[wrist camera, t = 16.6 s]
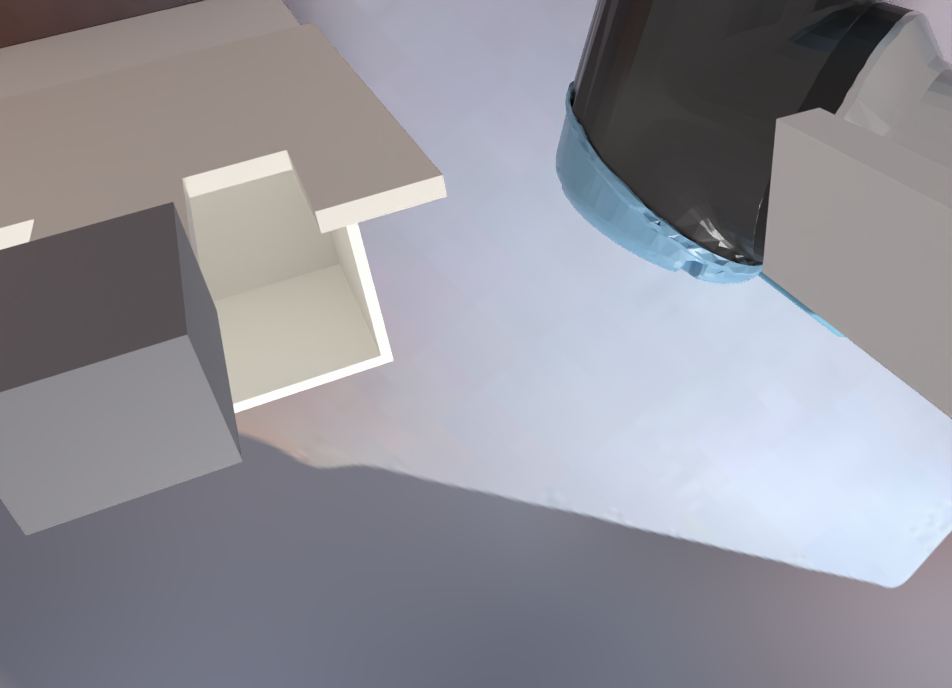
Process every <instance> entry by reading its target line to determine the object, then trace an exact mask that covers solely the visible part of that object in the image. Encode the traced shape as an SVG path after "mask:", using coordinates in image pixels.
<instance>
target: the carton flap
mask: <svg viewBox="0 0 952 688" xmlns="http://www.w3.org/2000/svg"><path fill="white" fill-rule="evenodd" d="M291 169H293V171H294V174H295V176H296V178H297V180H298V183H299V185H300V187H301V189H302V192H303V194H304V196H305V198H306V201H307V203H308V205H309V207H310V209H311V212H312V214H313V216H314V218H315V221H316V223H317V225H318V227H319V230H320V232H321V234H322V233H325V232H328V231H332V230H335V229H339V228H342V227H345V226H349V225H352V224H355V223H359V222H362V221H366V220H369V219H372V218H376V217H379V216H383V215H386V214H389V213H393V212H396V211H400V210H403V209H406V208H410V207H413V206H416V205H420V204H423V203H427V202H430V201H433V200H437V199H440V198H444V197H447V194H446V189H445V184H444V178H443V174H442V173H441V172H440V171H439V170H438V169H437V167H436V166H435V165H434V164H433V163H432V161H431V160H430V159H429V158H428V157H427V156H426V154H425V153H424V152H423V151H422V150H421V149H420V147H419V146H418V145H417V144H416V143H415V141H414V140H413V139H412V138H411V137H410V136H409V134H408V133H407V132H406V131H405V130H404V129H403V127H402V126H401V125H400V124H399V123H398V121H397V120H396V119H395V118H394V117H393V116H392V114H391V113H390V112H389V111H388V110H387V109H386V107H385V106H384V105H383V104H382V103H381V101H380V100H379V99H378V98H377V97H376V96H375V94H374V93H373V92H372V91H371V90H370V88H369V87H368V86H367V85H366V84H365V83H364V81H363V80H362V79H361V78H360V77H359V76H358V74H357V73H356V72H355V71H354V70H353V68H352V67H351V66H350V65H349V64H348V63H347V61H346V60H345V59H344V58H343V57H342V56H341V54H340V53H339V52H338V51H337V50H336V48H335V47H334V46H333V45H332V44H331V43H330V41H329V40H328V39H327V38H326V37H325V36H324V34H323V33H322V32H321V31H320V30H319V28H318V27H317V26H316V25H315V24H314V23H313V22H312V23H308V24H304V25H300V26H296V27H292V28H288V29H284V30H280V31H276V32H272V33H268V34H263V35H259V36H255V37H251V38H247V39H243V40H239V41H235V42H231V43H227V44H223V45H219V46H215V47H211V48H206V49H202V50H198V51H194V52H190V53H186V54H182V55H178V56H174V57H170V58H166V59H162V60H158V61H154V62H149V63H145V64H141V65H137V66H133V67H129V68H125V69H121V70H117V71H113V72H109V73H105V74H101V75H97V76H92V77H88V78H84V79H80V80H76V81H72V82H68V83H64V84H60V85H56V86H52V87H48V88H44V89H40V90H35V91H31V92H27V93H23V94H19V95H15V96H11V97H7V98H3V99H0V498H1V500H2V501H3V503H4V504H5V506H6V507H7V509H8V510H9V512H10V513H11V514H12V516H13V517H14V519H15V520H16V522H17V523H18V525H19V526H20V527H21V529H22V530H23V532H24V533H25V534H26V535H29V534H32V533H35V532H38V531H41V530H43V529H47V528H50V527H52V526H55V525H58V524H61V523H64V522H67V521H70V520H73V519H76V518H79V517H82V516H84V515H88V514H91V513H93V512H96V511H99V510H102V509H105V508H108V507H111V506H114V505H117V504H120V503H123V502H125V501H129V500H131V499H134V498H137V497H140V496H143V495H146V494H149V493H152V492H155V491H158V490H160V489H163V488H166V487H169V486H172V485H175V484H178V483H181V482H184V481H187V480H190V479H193V478H196V477H199V476H202V475H205V474H207V473H210V472H213V471H216V470H219V469H222V468H225V467H228V466H231V465H234V464H237V463H240V462H242V455H241V449H240V443H239V437H238V431H237V425H236V420H235V414H234V408H233V402H232V396H231V390H230V384H229V379H228V373H227V367H226V361H225V355H224V349H223V343H222V338H221V332H220V326H219V320H218V314H217V310H216V307H215V305H214V302H213V300H212V297H211V295H210V292H209V290H208V287H207V285H206V282H205V280H204V277H203V275H202V272H201V270H200V264H199V257H198V251H197V244H196V237H195V231H194V224H193V217H192V211H191V204H190V198H191V197H194V196H198V195H202V194H205V193H209V192H212V191H216V190H220V189H223V188H227V187H230V186H234V185H238V184H241V183H245V182H248V181H252V180H256V179H259V178H263V177H266V176H270V175H274V174H277V173H281V172H284V171H288V170H291Z"/></svg>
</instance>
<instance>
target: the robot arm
mask: <svg viewBox="0 0 952 688" xmlns="http://www.w3.org/2000/svg"><path fill="white" fill-rule="evenodd" d="M882 1H883V0H598V1H597V5H596V8H595V11H594V15H593V18H592V22H591V25H590V29H589V32H588V35H587V39H586V42H585V46H584V49H583V52H582V56H581V59H580V63H579V66H578V70H577V73H576V76H575V80H574V81H573V82H572V83H570V85H569V88H568V91H567V94H566V102H565V103H566V117H565V121H564V125H563V129H562V133H561V137H560V141H559V145H558V149H557V154H556V171H557V175H558V177H559V180H560V182H561V184H562V189H563V191H564V194H565V195H566V197H567V198H568V200H569V201H570V203H571V204H572V205H573V207H574V208H575V209H576V210H577V211H578V212H579V213H580V214H581V215H582V217H583V218H584V219H586V220H587V221H588V222H589V223H590V224H591V225H592V226H593V227H595V228H596V229H597V230H598V231H600V232H601V233H602V234H604V235H605V236H606V237H608V238H609V239H611V240H612V241H614V242H615V243H617V244H618V245H620V246H622V247H623V248H625V249H627V250H628V251H630V252H632V253H634V254H635V255H637V256H639V257H641V258H643V259H645V260H647V261H649V262H651V263H653V264H656V265H658V266H660V267H663V268H665V269H668V270H671V271H674V272H676V271H678V270H680V269H683V270H684V271H686V272H687V273H689V274H690V275H692V276H693V277H694V278H696V279H699V280H704V281H708V282H713V283H721V284H733V283H742V282H745V281H747V280H750V279H752V278H754V277H755V276H757V275H758V273H759V272H761V271H762V272H763V273H764V274H765V275H767V276H768V277H769V278H771V279H772V280H773V281H774V282H776V283H777V284H778V285H780V286H781V287H782V288H783V289H785V290H786V291H787V292H789V293H790V294H791V295H792V296H794V297H795V298H796V299H798V300H799V301H800V302H801V303H803V304H804V305H805V306H807V307H808V308H809V309H811V310H812V311H813V312H814V313H816V314H817V315H818V316H820V317H821V318H822V319H823V320H825V321H826V322H827V323H829V324H830V325H831V326H832V327H834V328H835V329H836V330H838V331H839V332H840V333H841V334H843V335H844V336H845V337H847V338H848V339H849V340H850V341H852V342H853V343H854V344H856V345H857V346H858V347H860V348H861V349H862V350H863V351H865V352H866V353H867V354H869V355H870V356H871V357H872V358H874V359H875V360H876V361H878V362H879V363H880V364H881V365H883V366H884V367H885V368H887V369H888V370H889V371H890V372H892V373H893V374H894V375H896V376H897V377H898V378H900V379H901V380H902V381H903V382H905V383H906V384H907V385H909V386H910V387H911V388H912V389H914V390H915V391H916V392H918V393H919V394H920V395H921V396H923V397H924V398H925V399H927V400H928V401H929V402H930V403H932V404H933V405H934V406H936V407H937V408H938V409H939V410H941V411H942V412H943V413H945V414H946V415H947V416H949V417H950V418H951V419H952V64H950V63H949V62H947V61H946V60H944V58H943V55H942V53H941V50H940V48H939V45H938V43H937V40H936V38H935V35H934V33H933V30H932V28H931V25H930V23H929V20H928V18H927V16H926V15H924V14H923V13H920V12H918V11H913V10H909V9H906V8H902V7H899V6H895V5H891V4H888V3H884V2H882Z"/></svg>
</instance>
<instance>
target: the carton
mask: <svg viewBox="0 0 952 688" xmlns="http://www.w3.org/2000/svg"><path fill="white" fill-rule="evenodd" d="M296 26H300V24H299V22H298V21H297V20H296V18H295V17H294V16H293V14H292V13H291V12H290V10H289V9H288V8H287V6H286V5H285V4H284V2H283V1H282V0H205V1H201V2H196V3H192V4H188V5H184V6H179V7H175V8H171V9H166V10H162V11H158V12H154V13H149V14H145V15H141V16H137V17H132V18H128V19H124V20H120V21H115V22H111V23H107V24H103V25H98V26H94V27H90V28H86V29H81V30H77V31H73V32H68V33H64V34H60V35H56V36H51V37H47V38H43V39H39V40H34V41H30V42H26V43H22V44H17V45H13V46H9V47H5V48H0V99H3V98H7V97H11V96H15V95H19V94H23V93H27V92H31V91H35V90H40V89H44V88H48V87H52V86H56V85H60V84H64V83H68V82H72V81H76V80H80V79H84V78H88V77H92V76H97V75H101V74H105V73H109V72H113V71H117V70H121V69H125V68H129V67H133V66H137V65H141V64H145V63H149V62H154V61H158V60H162V59H166V58H170V57H174V56H178V55H182V54H186V53H190V52H194V51H198V50H202V49H206V48H211V47H215V46H219V45H223V44H227V43H231V42H235V41H239V40H243V39H247V38H251V37H255V36H259V35H263V34H268V33H272V32H276V31H280V30H284V29H288V28H292V27H296ZM190 204H191V211H192V217H193V224H194V231H195V237H196V244H197V251H198V257H199V264H200V270H201V272H202V275H203V277H204V280H205V282H206V285H207V287H208V290H209V292H210V295H211V297H212V300H213V302H214V305H215V307H216V310H217V314H218V320H219V326H220V332H221V338H222V343H223V349H224V355H225V361H226V367H227V373H228V379H229V384H230V390H231V396H232V402H233V408H234V413H237V412H240V411H243V410H246V409H249V408H252V407H255V406H258V405H261V404H264V403H267V402H270V401H273V400H276V399H279V398H282V397H285V396H288V395H291V394H294V393H297V392H300V391H303V390H306V389H309V388H312V387H315V386H318V385H321V384H324V383H327V382H330V381H333V380H336V379H339V378H343V377H346V376H349V375H352V374H355V373H358V372H361V371H364V370H367V369H370V368H373V367H376V366H379V365H382V364H385V363H388V362H391V361H394V360H393V357H392V353H391V349H390V345H389V341H388V337H387V334H386V330H385V326H384V322H383V318H382V314H381V311H380V307H379V303H378V299H377V295H376V291H375V288H374V284H373V280H372V276H371V272H370V268H369V265H368V261H367V257H366V253H365V249H364V245H363V242H362V238H361V234H360V230H359V226H358V223H355V224H352V225H349V226H345V227H342V228H339V229H335V230H332V231H328V232H325V233H322V234H321V232H320V230H319V227H318V225H317V223H316V221H315V218H314V216H313V214H312V212H311V209H310V207H309V205H308V203H307V201H306V198H305V196H304V194H303V192H302V189H301V187H300V185H299V183H298V180H297V178H296V176H295V174H294V171H293V169H291V170H288V171H284V172H281V173H277V174H274V175H270V176H266V177H263V178H259V179H256V180H252V181H248V182H245V183H241V184H238V185H234V186H230V187H227V188H223V189H220V190H216V191H212V192H209V193H205V194H202V195H198V196H194V197H191V198H190Z"/></svg>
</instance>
